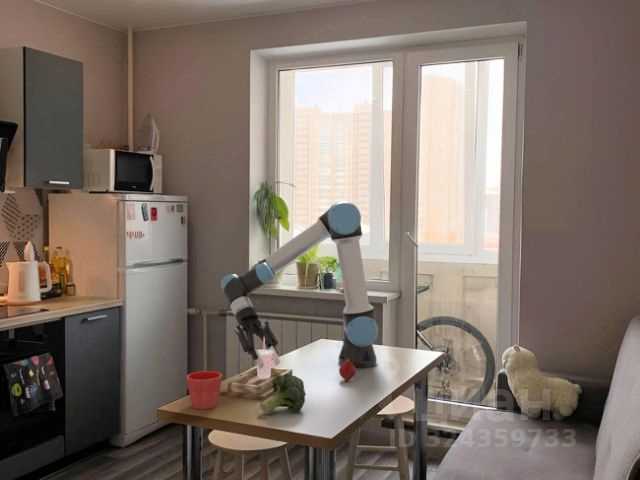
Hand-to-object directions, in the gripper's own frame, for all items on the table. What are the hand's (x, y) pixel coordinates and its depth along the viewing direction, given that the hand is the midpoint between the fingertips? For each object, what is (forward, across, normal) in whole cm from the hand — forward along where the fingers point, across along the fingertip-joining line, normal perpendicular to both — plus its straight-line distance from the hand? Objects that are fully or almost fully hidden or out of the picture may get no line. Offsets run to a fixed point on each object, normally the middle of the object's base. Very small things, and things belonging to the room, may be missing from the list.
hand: (270, 364), depth 231 cm
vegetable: (+24, +13, +13) cm, 30 cm away
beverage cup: (+1, 0, -6) cm, 6 cm away
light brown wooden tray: (+5, +4, -6) cm, 8 cm away
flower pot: (+9, +29, -1) cm, 31 cm away
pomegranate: (+14, -25, +3) cm, 29 cm away
